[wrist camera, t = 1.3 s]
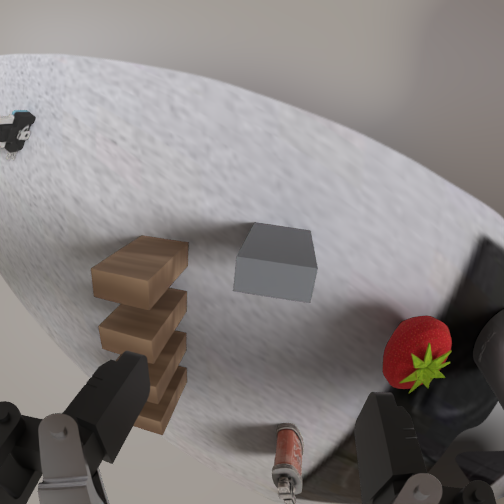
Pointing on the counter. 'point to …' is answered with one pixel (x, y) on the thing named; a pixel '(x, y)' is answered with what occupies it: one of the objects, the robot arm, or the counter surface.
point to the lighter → (288, 462)
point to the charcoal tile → (276, 263)
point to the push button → (15, 131)
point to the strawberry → (416, 352)
